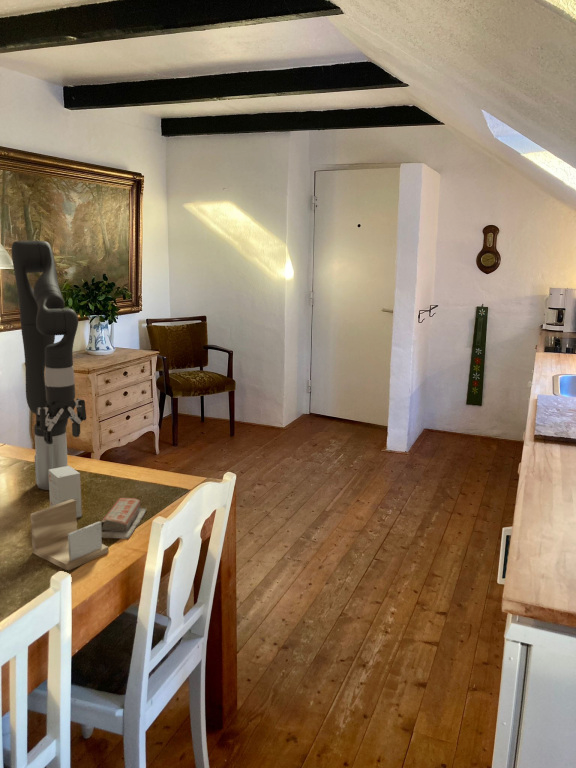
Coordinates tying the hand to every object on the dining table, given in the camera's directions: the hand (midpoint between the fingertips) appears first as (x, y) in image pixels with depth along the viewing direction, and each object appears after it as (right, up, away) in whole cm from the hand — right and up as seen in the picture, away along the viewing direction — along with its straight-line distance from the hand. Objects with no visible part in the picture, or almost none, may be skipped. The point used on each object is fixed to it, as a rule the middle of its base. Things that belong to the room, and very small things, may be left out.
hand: (62, 439), depth 179 cm
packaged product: (+16, -24, +1) cm, 29 cm away
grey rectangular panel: (+13, -26, -21) cm, 36 cm away
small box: (-1, -22, +5) cm, 22 cm away
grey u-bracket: (+8, -27, -17) cm, 33 cm away
